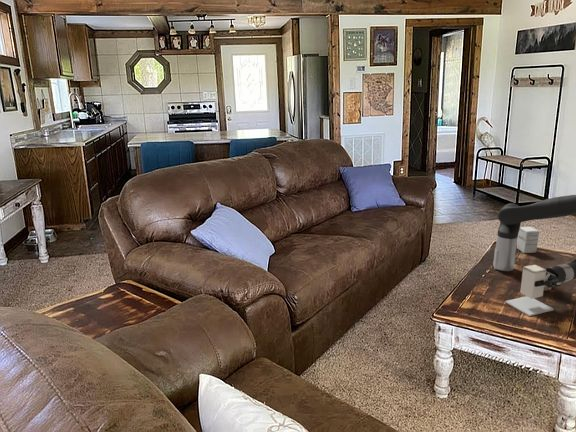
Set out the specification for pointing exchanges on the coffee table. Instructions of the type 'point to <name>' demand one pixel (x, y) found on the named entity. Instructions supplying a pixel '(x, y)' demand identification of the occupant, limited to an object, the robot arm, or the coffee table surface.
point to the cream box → (532, 281)
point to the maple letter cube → (547, 288)
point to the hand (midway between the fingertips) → (528, 281)
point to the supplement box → (528, 239)
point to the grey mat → (529, 305)
